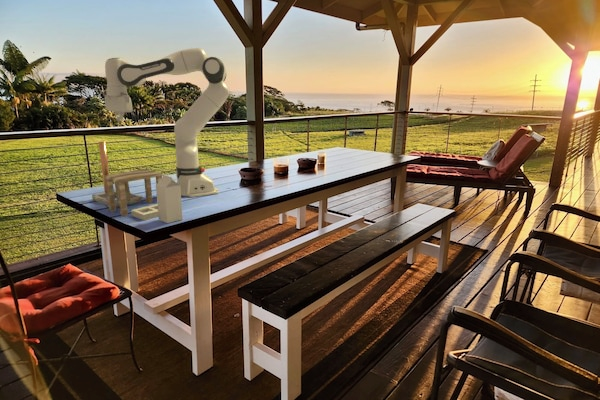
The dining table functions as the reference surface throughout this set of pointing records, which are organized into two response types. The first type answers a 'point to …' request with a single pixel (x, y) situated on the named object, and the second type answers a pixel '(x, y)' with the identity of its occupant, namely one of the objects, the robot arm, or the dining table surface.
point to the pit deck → (146, 212)
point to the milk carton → (169, 200)
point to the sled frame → (105, 171)
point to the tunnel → (120, 180)
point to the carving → (125, 190)
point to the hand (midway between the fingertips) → (120, 120)
